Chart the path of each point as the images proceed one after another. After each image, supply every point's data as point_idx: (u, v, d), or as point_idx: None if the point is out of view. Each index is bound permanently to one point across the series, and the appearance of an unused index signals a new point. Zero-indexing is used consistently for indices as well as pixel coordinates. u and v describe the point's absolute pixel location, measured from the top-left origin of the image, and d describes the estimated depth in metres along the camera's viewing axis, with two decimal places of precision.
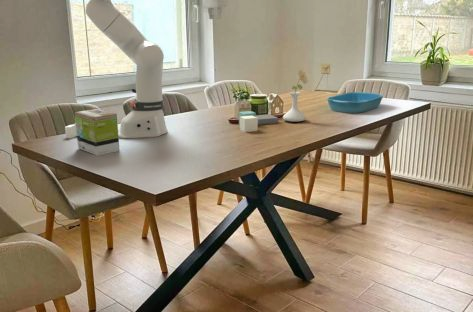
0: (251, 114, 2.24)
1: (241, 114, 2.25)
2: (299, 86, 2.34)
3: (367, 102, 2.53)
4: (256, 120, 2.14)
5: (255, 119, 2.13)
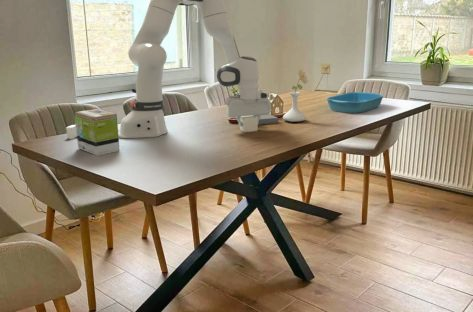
0: None
1: None
2: (299, 86, 2.34)
3: (366, 102, 2.53)
4: (256, 120, 2.14)
5: (255, 119, 2.13)
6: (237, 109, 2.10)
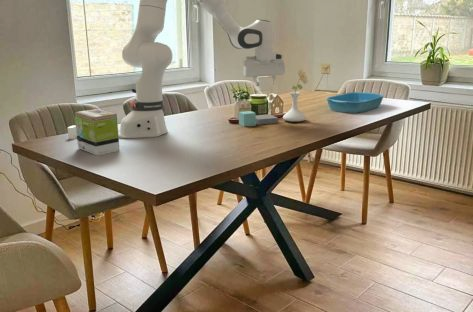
0: (251, 114, 2.24)
1: (241, 114, 2.25)
2: (299, 86, 2.34)
3: (366, 102, 2.53)
4: (271, 80, 2.27)
5: (271, 79, 2.26)
6: (254, 69, 2.24)
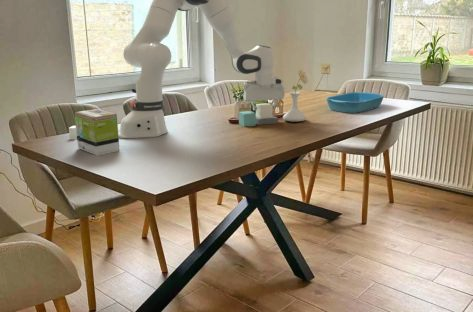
0: (251, 114, 2.24)
1: (241, 114, 2.25)
2: (299, 86, 2.34)
3: (365, 102, 2.53)
4: (271, 107, 2.30)
5: (270, 106, 2.30)
6: (254, 94, 2.27)
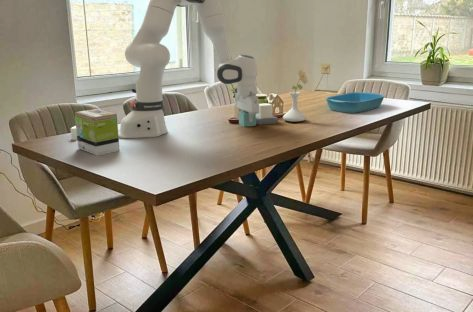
0: None
1: (241, 114, 2.25)
2: (299, 86, 2.34)
3: (365, 102, 2.53)
4: (271, 107, 2.30)
5: (270, 106, 2.30)
6: None
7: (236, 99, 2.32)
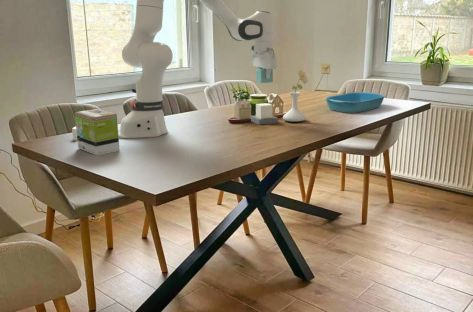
0: None
1: (258, 70, 2.27)
2: (299, 86, 2.34)
3: (364, 102, 2.53)
4: (271, 107, 2.30)
5: (270, 106, 2.30)
6: None
7: (253, 57, 2.33)
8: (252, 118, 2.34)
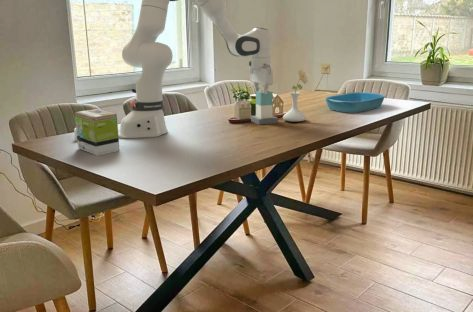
0: (268, 93, 2.28)
1: (258, 93, 2.29)
2: (299, 86, 2.34)
3: (363, 102, 2.53)
4: (271, 107, 2.30)
5: (270, 106, 2.30)
6: None
7: (250, 72, 2.36)
8: (252, 118, 2.34)
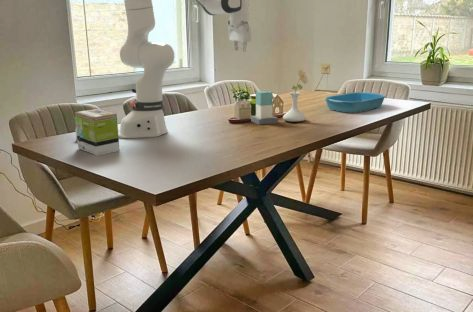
0: (268, 93, 2.28)
1: (258, 93, 2.29)
2: (299, 86, 2.34)
3: (363, 102, 2.53)
4: (271, 107, 2.30)
5: (270, 106, 2.30)
6: None
7: (229, 32, 2.39)
8: (252, 118, 2.34)
